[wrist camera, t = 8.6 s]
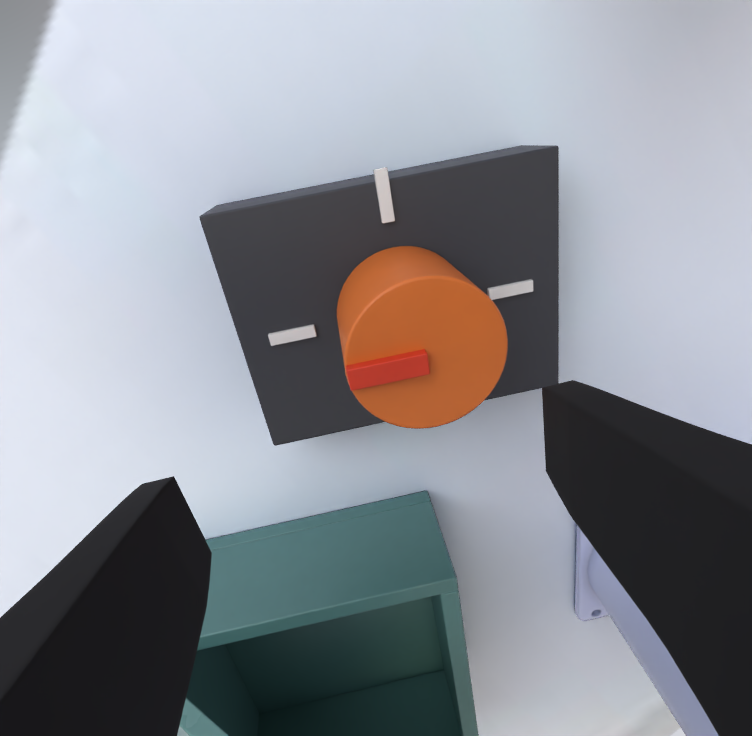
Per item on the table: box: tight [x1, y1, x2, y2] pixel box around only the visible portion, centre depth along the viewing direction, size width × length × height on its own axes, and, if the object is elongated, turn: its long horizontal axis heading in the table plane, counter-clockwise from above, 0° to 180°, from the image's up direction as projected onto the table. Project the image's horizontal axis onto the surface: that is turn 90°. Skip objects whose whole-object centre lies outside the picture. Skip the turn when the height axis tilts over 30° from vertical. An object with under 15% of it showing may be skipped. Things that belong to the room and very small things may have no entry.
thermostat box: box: [200, 146, 558, 446], centre depth 16 cm, size 10×8×3 cm
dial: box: [337, 246, 508, 429], centre depth 13 cm, size 4×4×4 cm
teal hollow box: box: [186, 491, 478, 736], centre depth 21 cm, size 11×12×5 cm
